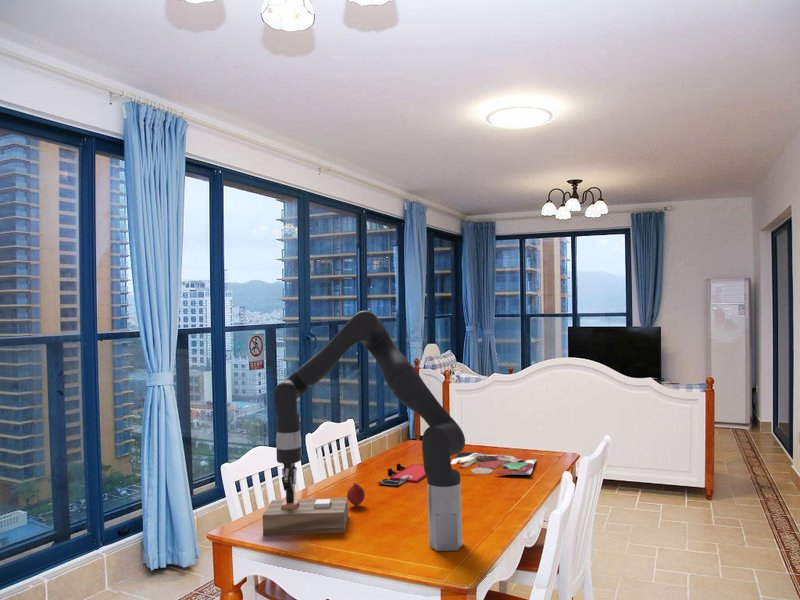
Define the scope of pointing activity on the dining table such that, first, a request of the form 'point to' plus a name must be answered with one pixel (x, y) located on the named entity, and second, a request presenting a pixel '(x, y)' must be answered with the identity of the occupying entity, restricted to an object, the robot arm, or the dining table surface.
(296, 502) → the key terracotta
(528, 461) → the multicolored flat sheet
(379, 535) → the dining table surface
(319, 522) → the wooden button box
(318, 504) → the white cube
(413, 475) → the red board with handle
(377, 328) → the robot arm
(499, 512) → the dining table surface
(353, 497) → the onion
